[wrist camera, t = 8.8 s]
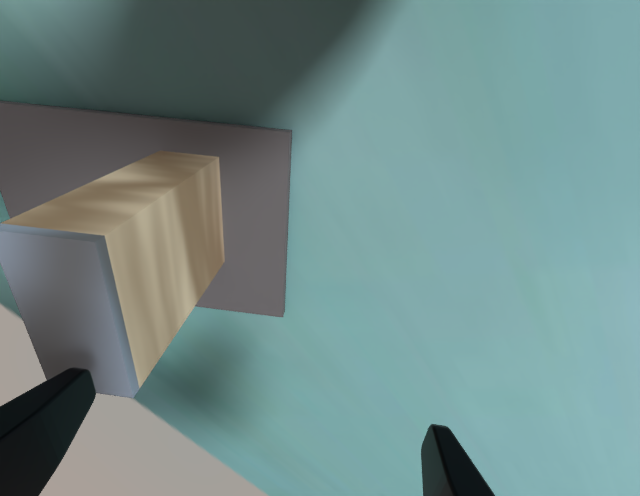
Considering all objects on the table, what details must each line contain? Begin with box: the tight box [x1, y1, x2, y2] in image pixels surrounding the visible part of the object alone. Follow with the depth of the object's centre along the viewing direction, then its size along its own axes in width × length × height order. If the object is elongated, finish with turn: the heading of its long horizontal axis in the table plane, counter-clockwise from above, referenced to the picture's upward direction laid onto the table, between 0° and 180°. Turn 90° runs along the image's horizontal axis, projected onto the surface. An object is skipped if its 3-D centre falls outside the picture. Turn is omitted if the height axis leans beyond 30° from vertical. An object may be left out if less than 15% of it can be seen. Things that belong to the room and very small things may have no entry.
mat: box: [0, 101, 292, 317], centre depth 20 cm, size 16×11×1 cm
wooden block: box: [0, 151, 225, 398], centre depth 15 cm, size 3×6×9 cm, turn 176°
